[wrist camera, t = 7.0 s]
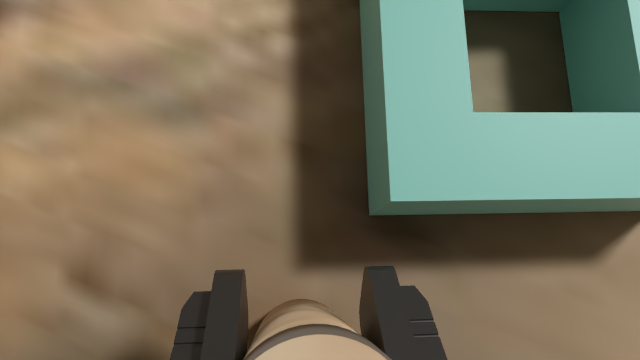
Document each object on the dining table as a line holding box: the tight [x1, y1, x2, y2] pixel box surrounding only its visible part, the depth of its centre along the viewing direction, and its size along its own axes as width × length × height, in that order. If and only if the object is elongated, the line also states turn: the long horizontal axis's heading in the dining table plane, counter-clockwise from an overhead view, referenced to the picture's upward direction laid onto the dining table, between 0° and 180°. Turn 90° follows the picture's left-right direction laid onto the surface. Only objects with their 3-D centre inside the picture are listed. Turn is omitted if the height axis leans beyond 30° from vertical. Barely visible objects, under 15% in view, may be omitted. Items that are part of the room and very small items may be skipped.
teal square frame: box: [359, 0, 640, 215], centre depth 16 cm, size 11×11×4 cm
